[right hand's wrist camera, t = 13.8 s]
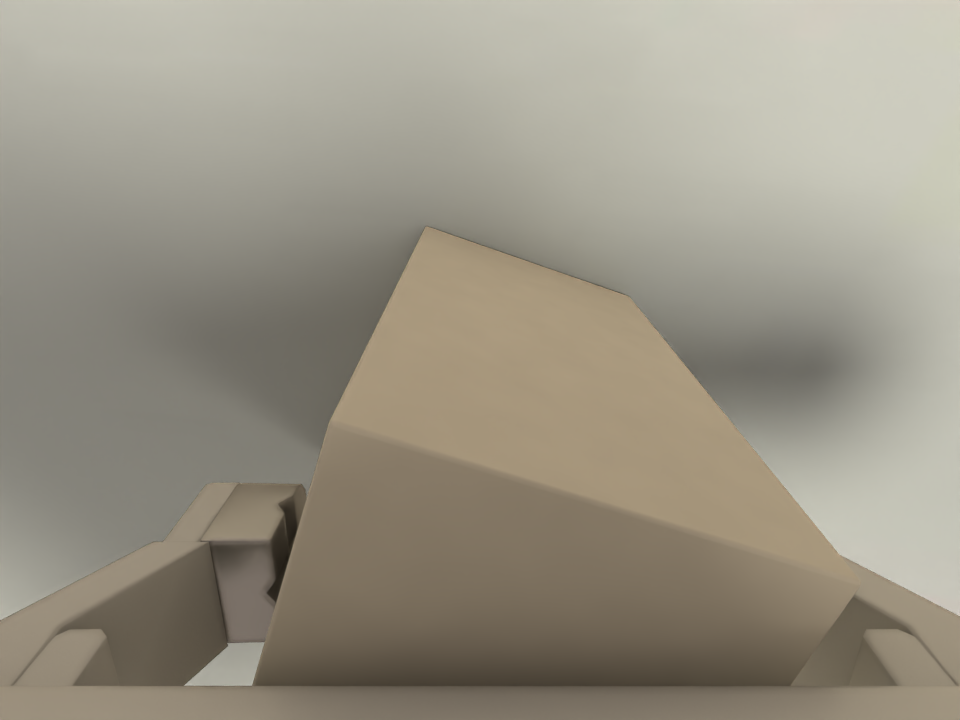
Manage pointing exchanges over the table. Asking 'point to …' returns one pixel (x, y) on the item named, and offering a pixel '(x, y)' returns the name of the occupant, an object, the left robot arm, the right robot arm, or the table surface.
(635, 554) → the brick
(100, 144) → the table surface
